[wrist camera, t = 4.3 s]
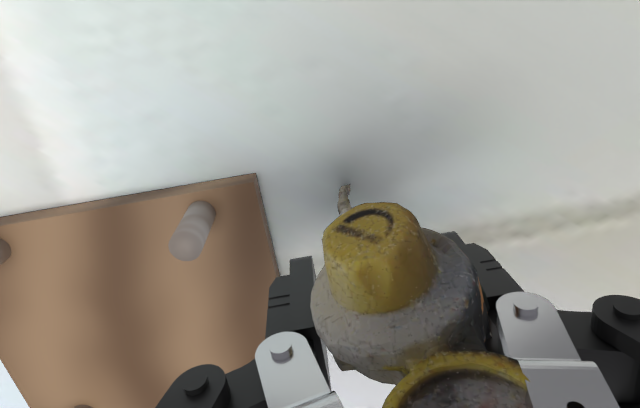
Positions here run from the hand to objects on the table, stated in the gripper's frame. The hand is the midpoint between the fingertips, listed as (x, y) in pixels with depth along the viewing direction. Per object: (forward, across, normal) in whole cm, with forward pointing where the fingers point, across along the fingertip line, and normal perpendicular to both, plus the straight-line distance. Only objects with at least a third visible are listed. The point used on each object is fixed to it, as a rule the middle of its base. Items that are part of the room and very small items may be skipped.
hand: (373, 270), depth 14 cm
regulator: (+6, 0, 0) cm, 6 cm away
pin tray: (+6, +11, +4) cm, 13 cm away
